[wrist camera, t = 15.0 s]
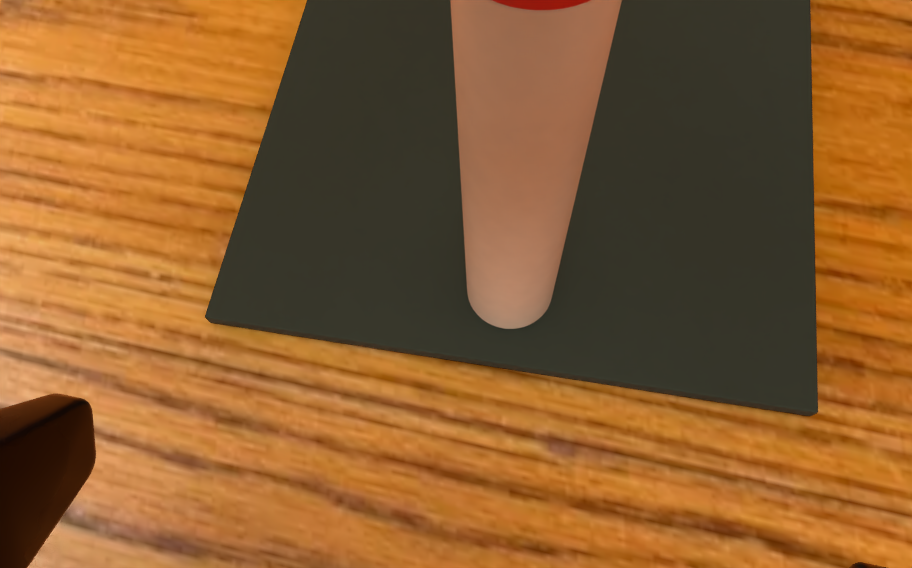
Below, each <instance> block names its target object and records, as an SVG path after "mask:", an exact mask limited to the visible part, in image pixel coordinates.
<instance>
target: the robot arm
mask: <svg viewBox="0 0 912 568" xmlns="http://www.w3.org/2000/svg"><path fill="white" fill-rule="evenodd" d="M95 458H96V450H95V438H94V426H93V414H92V408H91V406H90V404H89V403H88V402H87V401H86V400H85V399H82V398H77V397H72V396H68V395H63V394H50V395H47V396H43V397H40V398H36V399H33V400H29V401H26V402H23V403H19V404H16V405H12V406H9V407H5V408H2V409H0V568H27V567H28V566H29V564H30V563H31V562H32V560H33V559H34V557H35V556H36V554H37V553H38V551H39V550H40V548H41V547H42V545H43V544H44V542H45V541H46V539H47V538H48V536H49V535H50V533H51V532H52V531H53V529H54V528H55V526H56V525H57V523H58V522H59V520H60V519H61V517H62V516H63V514H64V513H65V511H66V510H67V508H68V507H69V505H70V504H71V502H72V501H73V500H74V498H75V497H76V495H77V494H78V492H79V491H80V489H81V488H82V486H83V485H84V483H85V482H86V480H87V479H88V477H89V476H90V474H91V472H92V470H93V467H94V464H95ZM850 568H886V567H881V566H877V565H872V564H867V563H862V562H858V563H855V564H852V566H851V567H850Z"/></svg>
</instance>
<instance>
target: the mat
mask: <svg viewBox="0 0 912 568" xmlns="http://www.w3.org/2000/svg"><path fill="white" fill-rule="evenodd" d="M205 318H206V319H207V320H208V321H209V322H211V323H217V324H223V325H230V326H236V327H242V328H249V329H255V330H262V331H268V332H274V333H281V334H287V335H294V336H300V337H306V338H313V339H319V340H326V341H332V342H338V343H345V344H351V345H358V346H364V347H370V348H377V349H383V350H390V351H396V352H402V353H409V354H415V355H422V356H428V357H434V358H441V359H447V360H454V361H460V362H466V363H473V364H479V365H486V366H492V367H498V368H505V369H511V370H518V371H524V372H530V373H537V374H543V375H550V376H556V377H562V378H569V379H575V380H582V381H588V382H594V383H601V384H607V385H614V386H620V387H627V388H633V389H639V390H646V391H652V392H659V393H665V394H671V395H678V396H684V397H691V398H697V399H703V400H710V401H716V402H723V403H729V404H735V405H742V406H748V407H755V408H761V409H767V410H774V411H780V412H787V413H793V414H799V415H806V416H812V415H814V414H816V413H817V412H818V393H817V340H816V286H815V233H814V180H813V127H812V74H811V21H810V0H622V2H621V6H620V10H619V14H618V19H617V23H616V27H615V31H614V36H613V40H612V44H611V48H610V53H609V57H608V61H607V65H606V70H605V74H604V78H603V82H602V87H601V91H600V95H599V99H598V104H597V108H596V112H595V116H594V121H593V125H592V129H591V133H590V137H589V142H588V146H587V150H586V154H585V159H584V163H583V167H582V171H581V176H580V180H579V184H578V188H577V193H576V197H575V201H574V205H573V210H572V214H571V218H570V222H569V227H568V231H567V235H566V239H565V244H564V248H563V252H562V256H561V261H560V265H559V269H558V273H557V278H556V282H555V286H554V290H553V295H552V299H551V302H550V305H549V307H548V309H547V310H546V312H545V313H544V314H543V315H542V316H541V317H540V318H539V319H538V320H537V321H535V322H534V323H532V324H530V325H528V326H525V327H521V328H516V329H505V328H499V327H496V326H493V325H491V324H489V323H487V322H485V321H484V320H483V319H481V318H480V317H479V316H478V315H477V314H476V312H475V311H474V310H473V308H472V306H471V304H470V302H469V299H468V294H467V280H466V262H465V245H464V228H463V210H462V193H461V175H460V158H459V141H458V123H457V106H456V88H455V71H454V54H453V36H452V19H451V1H450V0H307V3H306V6H305V9H304V12H303V15H302V19H301V22H300V25H299V28H298V31H297V34H296V37H295V40H294V43H293V46H292V49H291V52H290V56H289V59H288V62H287V65H286V68H285V71H284V74H283V77H282V80H281V83H280V86H279V89H278V93H277V96H276V99H275V102H274V105H273V108H272V111H271V114H270V117H269V120H268V123H267V127H266V130H265V133H264V136H263V139H262V142H261V145H260V148H259V151H258V154H257V157H256V160H255V164H254V167H253V170H252V173H251V176H250V179H249V182H248V185H247V188H246V191H245V194H244V197H243V201H242V204H241V207H240V210H239V213H238V216H237V219H236V222H235V225H234V228H233V231H232V235H231V238H230V241H229V244H228V247H227V250H226V253H225V256H224V259H223V262H222V265H221V268H220V272H219V275H218V278H217V281H216V284H215V287H214V290H213V293H212V296H211V299H210V302H209V305H208V309H207V312H206V315H205Z"/></svg>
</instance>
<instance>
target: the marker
mask: <svg viewBox="0 0 912 568" xmlns="http://www.w3.org/2000/svg"><path fill="white" fill-rule="evenodd" d="M450 1H451V19H452V36H453V54H454V71H455V88H456V106H457V123H458V141H459V158H460V175H461V193H462V210H463V228H464V245H465V262H466V280H467V294H468V299H469V302H470V304H471V306H472V308H473V310H474V311H475V312H476V314H477V315H478V316H479V317H480V318H481V319H483V320H484V321H485V322H487V323H489V324H491V325H493V326H496V327H499V328H505V329H516V328H521V327H525V326H528V325H530V324H532V323H534V322H535V321H537V320H538V319H539V318H540V317H541V316H542V315H543V314H544V313H545V312H546V310H547V309H548V307H549V305H550V302H551V299H552V295H553V290H554V286H555V282H556V278H557V273H558V269H559V265H560V261H561V256H562V252H563V248H564V244H565V239H566V235H567V231H568V227H569V222H570V218H571V214H572V210H573V205H574V201H575V197H576V193H577V188H578V184H579V180H580V176H581V171H582V167H583V163H584V159H585V154H586V150H587V146H588V142H589V137H590V133H591V129H592V125H593V121H594V116H595V112H596V108H597V104H598V99H599V95H600V91H601V87H602V82H603V78H604V74H605V70H606V65H607V61H608V57H609V53H610V48H611V44H612V40H613V36H614V31H615V27H616V23H617V19H618V14H619V10H620V6H621V2H622V0H450Z"/></svg>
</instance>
